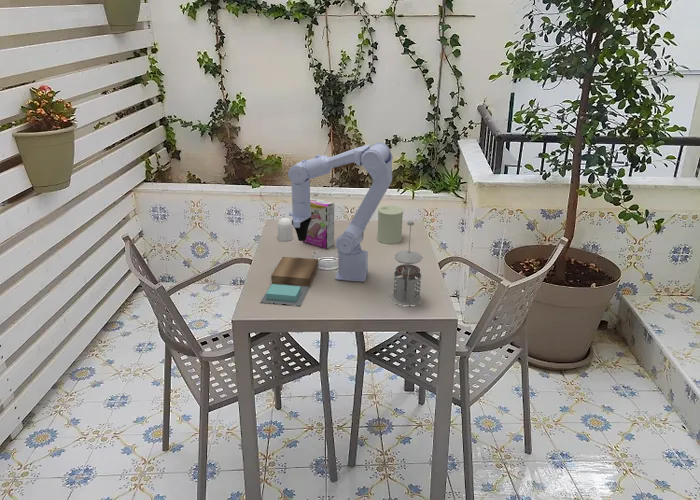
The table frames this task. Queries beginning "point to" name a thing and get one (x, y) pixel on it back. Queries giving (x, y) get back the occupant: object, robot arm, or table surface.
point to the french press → (407, 277)
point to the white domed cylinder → (285, 229)
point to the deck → (295, 271)
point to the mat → (297, 303)
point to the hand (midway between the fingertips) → (302, 240)
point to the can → (390, 224)
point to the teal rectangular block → (283, 293)
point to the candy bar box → (321, 224)
